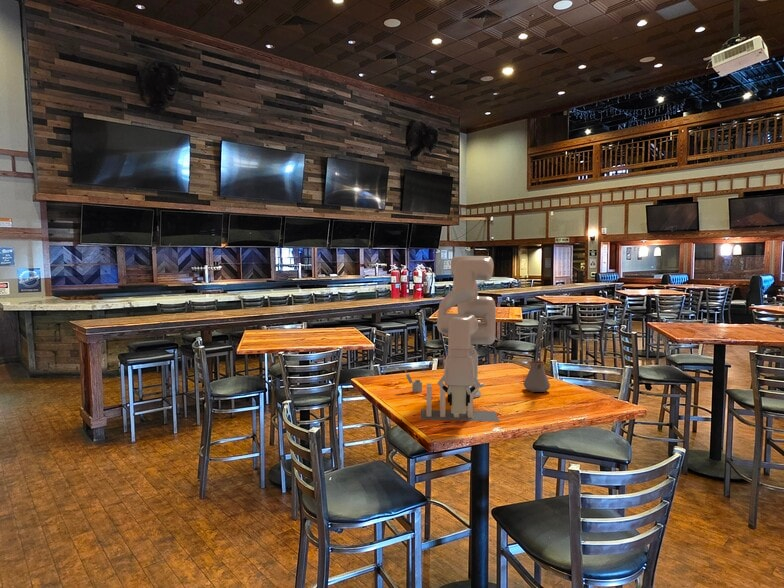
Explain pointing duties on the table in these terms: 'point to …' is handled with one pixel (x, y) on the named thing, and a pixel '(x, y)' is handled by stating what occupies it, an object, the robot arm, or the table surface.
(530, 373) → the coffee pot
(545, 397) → the table surface
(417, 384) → the lighter
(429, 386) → the domino
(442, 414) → the domino
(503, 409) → the table surface
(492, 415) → the mat
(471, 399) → the domino
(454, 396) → the domino
